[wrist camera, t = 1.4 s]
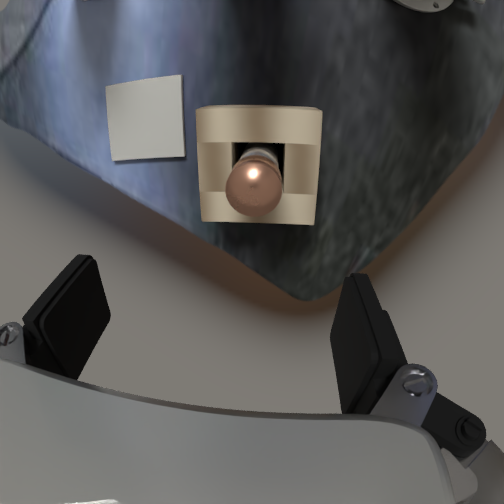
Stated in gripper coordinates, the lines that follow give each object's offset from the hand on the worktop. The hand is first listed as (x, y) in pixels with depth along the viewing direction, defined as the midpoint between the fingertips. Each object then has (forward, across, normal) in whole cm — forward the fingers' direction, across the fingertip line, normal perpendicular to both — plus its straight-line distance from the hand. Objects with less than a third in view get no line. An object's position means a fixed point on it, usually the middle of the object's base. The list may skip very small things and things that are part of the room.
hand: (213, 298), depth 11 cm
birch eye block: (+27, -1, 0) cm, 27 cm away
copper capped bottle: (+27, -1, 0) cm, 27 cm away
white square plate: (+27, +13, -4) cm, 31 cm away
